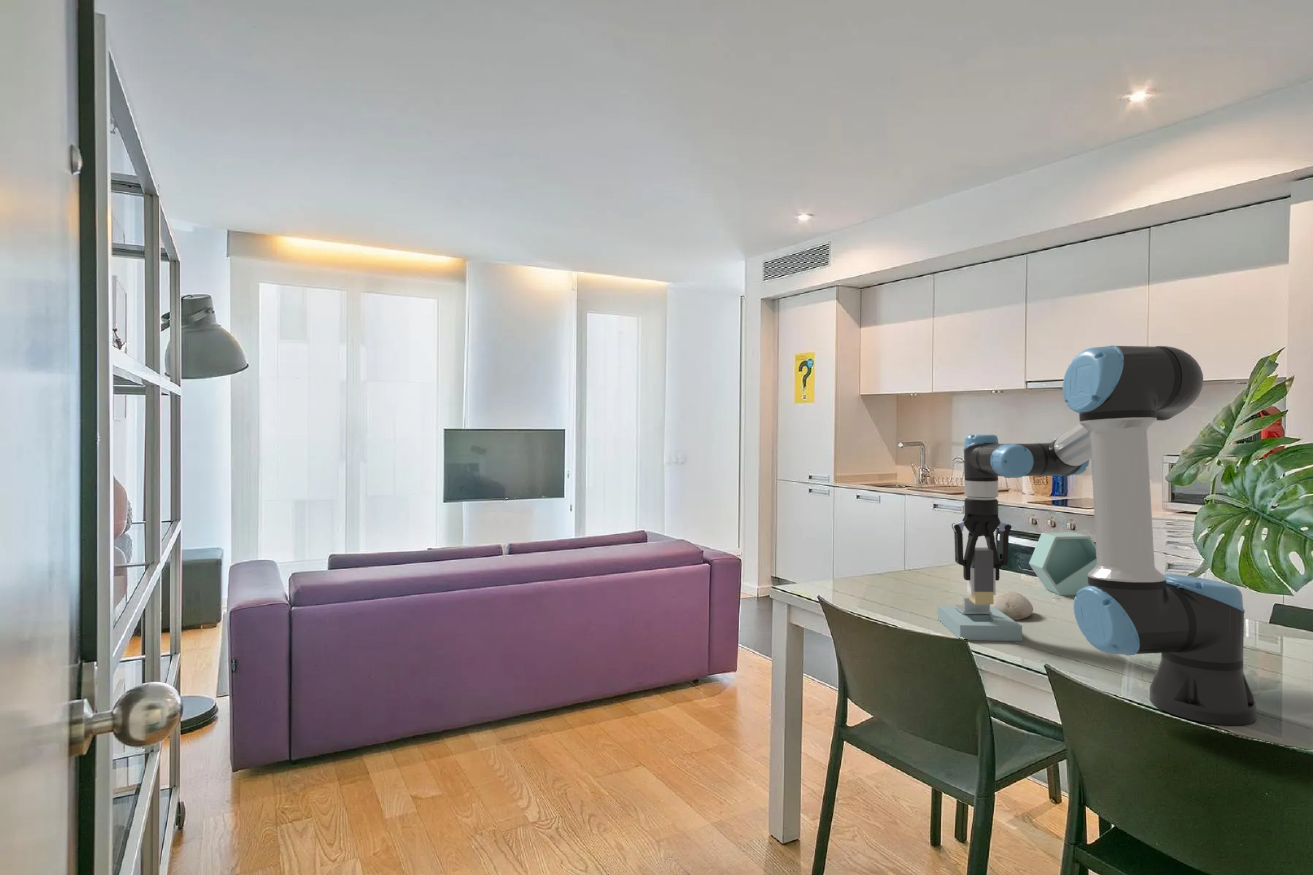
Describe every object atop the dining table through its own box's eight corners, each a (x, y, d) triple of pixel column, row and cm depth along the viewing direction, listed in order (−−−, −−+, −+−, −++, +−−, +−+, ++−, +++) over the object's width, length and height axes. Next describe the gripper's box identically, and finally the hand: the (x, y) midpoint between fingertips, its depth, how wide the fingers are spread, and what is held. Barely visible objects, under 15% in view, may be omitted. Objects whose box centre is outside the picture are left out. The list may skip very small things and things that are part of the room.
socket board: (1022, 640, 169) (1022, 625, 169) (960, 639, 170) (960, 625, 170) (993, 620, 187) (993, 606, 187) (937, 619, 188) (937, 606, 188)
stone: (1005, 637, 187) (1022, 616, 183) (974, 610, 193) (989, 589, 189) (1029, 624, 195) (1045, 603, 191) (997, 598, 201) (1013, 577, 197)
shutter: (991, 614, 178) (991, 598, 178) (963, 613, 179) (963, 598, 179) (981, 607, 185) (981, 592, 185) (954, 606, 186) (954, 592, 185)
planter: (1070, 610, 212) (1031, 552, 212) (1056, 604, 220) (1018, 548, 219) (1118, 578, 212) (1079, 520, 211) (1102, 573, 220) (1064, 517, 219)
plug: (993, 604, 173) (993, 550, 173) (975, 604, 174) (975, 550, 173) (987, 600, 177) (987, 547, 177) (969, 599, 178) (969, 547, 177)
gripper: (1012, 496, 178) (1012, 590, 178) (939, 496, 179) (940, 589, 180) (1024, 499, 170) (1024, 597, 171) (949, 499, 172) (949, 596, 172)
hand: (981, 593), depth 175 cm, fingers closed on plug, 4 cm apart
